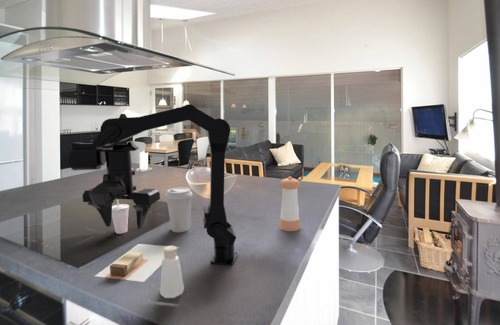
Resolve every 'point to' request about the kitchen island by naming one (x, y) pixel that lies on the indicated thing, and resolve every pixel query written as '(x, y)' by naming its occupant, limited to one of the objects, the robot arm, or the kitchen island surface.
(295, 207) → the salt shaker
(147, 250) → the mat
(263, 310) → the kitchen island surface
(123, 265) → the wooden block
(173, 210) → the coffee cup
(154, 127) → the robot arm
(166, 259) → the pepper shaker
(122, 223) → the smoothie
